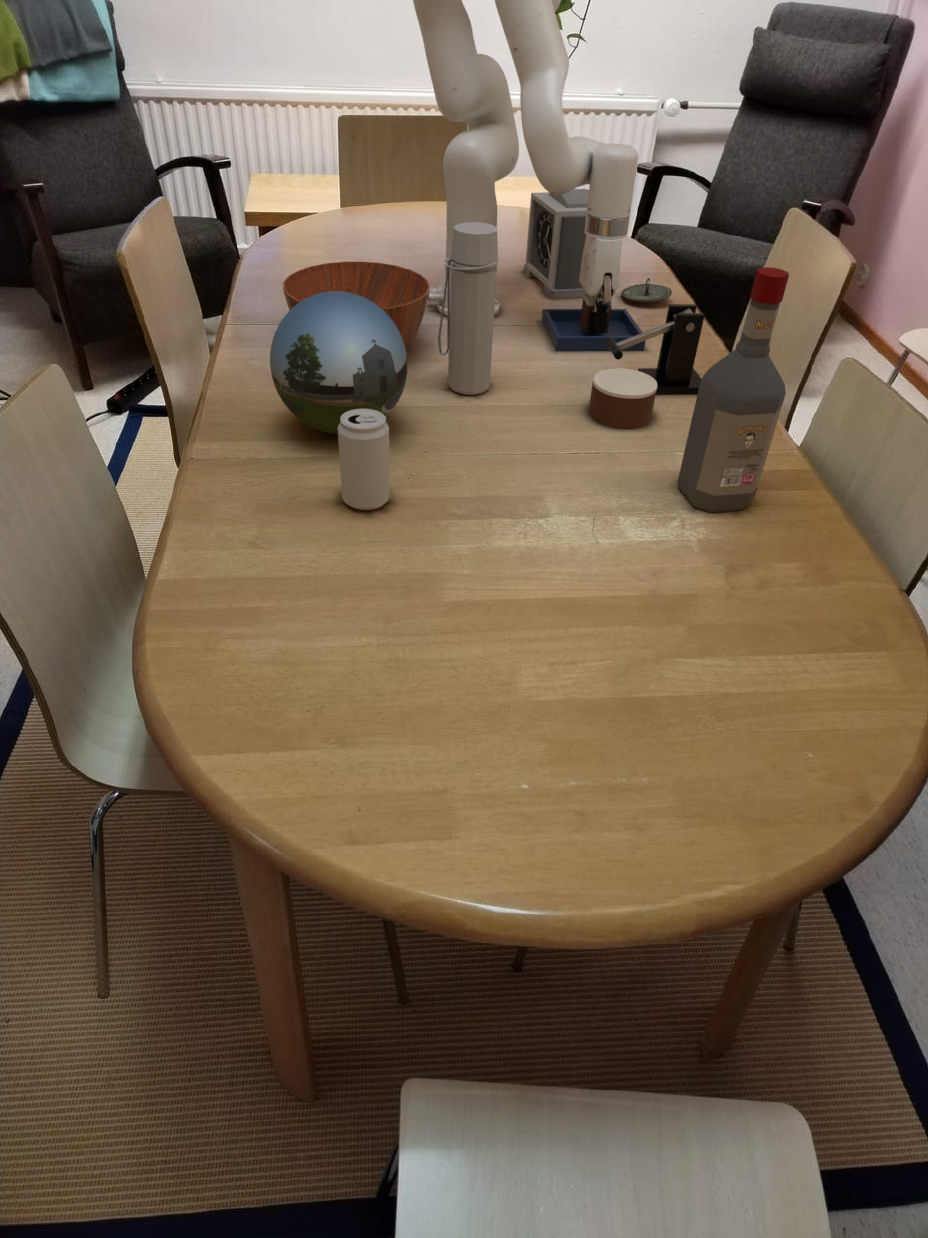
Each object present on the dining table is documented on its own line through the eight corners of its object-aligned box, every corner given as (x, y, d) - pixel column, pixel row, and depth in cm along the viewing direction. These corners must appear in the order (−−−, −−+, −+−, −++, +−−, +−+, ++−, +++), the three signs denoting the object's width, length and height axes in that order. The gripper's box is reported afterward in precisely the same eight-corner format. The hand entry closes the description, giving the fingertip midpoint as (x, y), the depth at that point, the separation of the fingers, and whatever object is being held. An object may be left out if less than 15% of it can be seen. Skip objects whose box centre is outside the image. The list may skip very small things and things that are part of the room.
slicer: (649, 394, 141) (664, 318, 133) (636, 374, 148) (650, 300, 139) (707, 393, 143) (724, 318, 134) (691, 374, 149) (708, 300, 140)
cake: (596, 429, 131) (601, 395, 127) (582, 400, 139) (586, 368, 135) (658, 428, 132) (665, 394, 129) (641, 400, 140) (647, 367, 136)
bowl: (454, 362, 149) (457, 296, 141) (323, 389, 138) (318, 320, 131) (390, 315, 165) (388, 254, 157) (267, 336, 154) (260, 272, 147)
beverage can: (342, 488, 115) (337, 406, 107) (390, 487, 115) (388, 406, 108) (341, 513, 110) (336, 429, 102) (390, 513, 110) (389, 429, 103)
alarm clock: (522, 270, 189) (529, 180, 177) (576, 267, 192) (587, 179, 180) (551, 299, 175) (560, 203, 164) (609, 295, 179) (623, 201, 167)
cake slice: (584, 332, 158) (588, 302, 154) (579, 324, 161) (583, 294, 158) (607, 332, 158) (612, 302, 155) (602, 324, 162) (606, 294, 158)
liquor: (759, 509, 115) (829, 283, 95) (697, 515, 113) (755, 286, 94) (729, 476, 121) (789, 258, 102) (670, 480, 120) (719, 260, 101)
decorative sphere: (428, 444, 125) (430, 309, 112) (301, 470, 118) (287, 329, 105) (379, 391, 138) (375, 265, 126) (261, 411, 131) (245, 279, 118)
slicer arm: (616, 363, 138) (612, 350, 137) (607, 349, 143) (604, 336, 141) (699, 330, 136) (697, 317, 135) (688, 317, 141) (685, 303, 139)
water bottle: (496, 382, 143) (507, 224, 127) (482, 400, 137) (491, 238, 121) (445, 373, 145) (449, 216, 129) (429, 391, 139) (431, 230, 123)
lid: (674, 314, 175) (684, 290, 173) (634, 306, 171) (644, 280, 169) (649, 299, 183) (658, 276, 181) (611, 291, 179) (620, 266, 176)
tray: (556, 351, 154) (557, 337, 153) (541, 321, 165) (542, 308, 164) (643, 350, 156) (646, 337, 155) (623, 321, 167) (625, 308, 166)
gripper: (575, 212, 154) (564, 312, 166) (597, 238, 141) (583, 345, 153) (615, 212, 155) (602, 311, 167) (640, 238, 142) (624, 344, 154)
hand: (593, 326), depth 160 cm, fingers closed on cake slice, 4 cm apart
